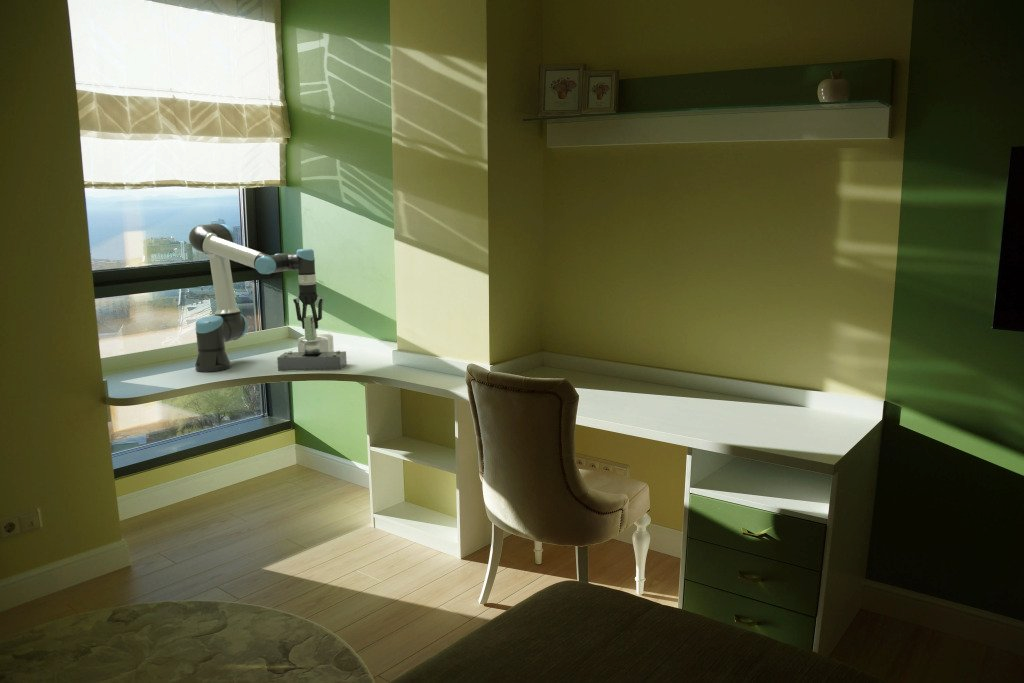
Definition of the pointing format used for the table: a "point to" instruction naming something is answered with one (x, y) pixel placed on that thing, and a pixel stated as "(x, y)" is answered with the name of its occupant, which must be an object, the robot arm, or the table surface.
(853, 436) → the table surface
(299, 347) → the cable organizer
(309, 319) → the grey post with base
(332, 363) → the block
